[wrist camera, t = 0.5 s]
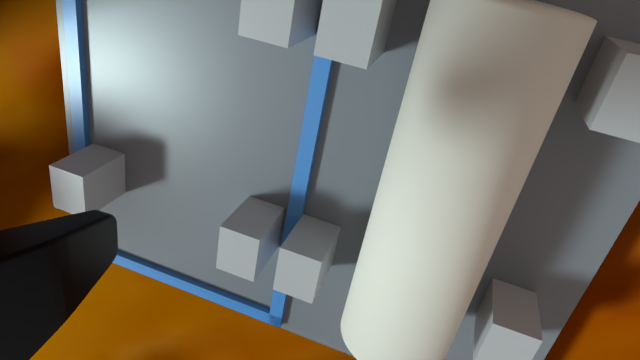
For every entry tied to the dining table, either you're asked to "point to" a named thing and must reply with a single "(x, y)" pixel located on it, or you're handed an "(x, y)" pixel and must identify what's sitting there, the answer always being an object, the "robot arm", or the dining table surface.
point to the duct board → (322, 157)
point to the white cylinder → (456, 167)
